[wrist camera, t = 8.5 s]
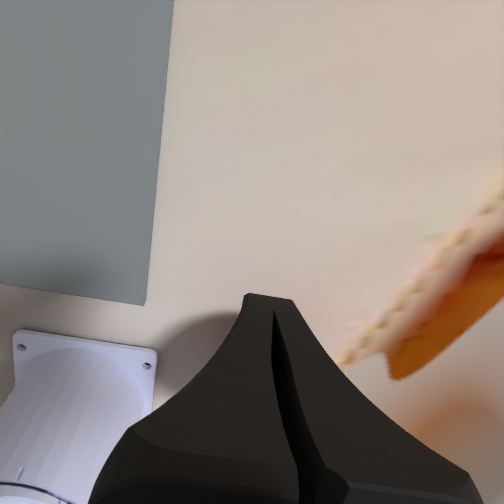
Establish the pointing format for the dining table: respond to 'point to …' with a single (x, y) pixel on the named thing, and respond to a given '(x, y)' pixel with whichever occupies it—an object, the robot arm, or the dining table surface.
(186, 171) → the dining table surface
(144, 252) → the slate mat
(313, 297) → the dining table surface
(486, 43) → the dining table surface
